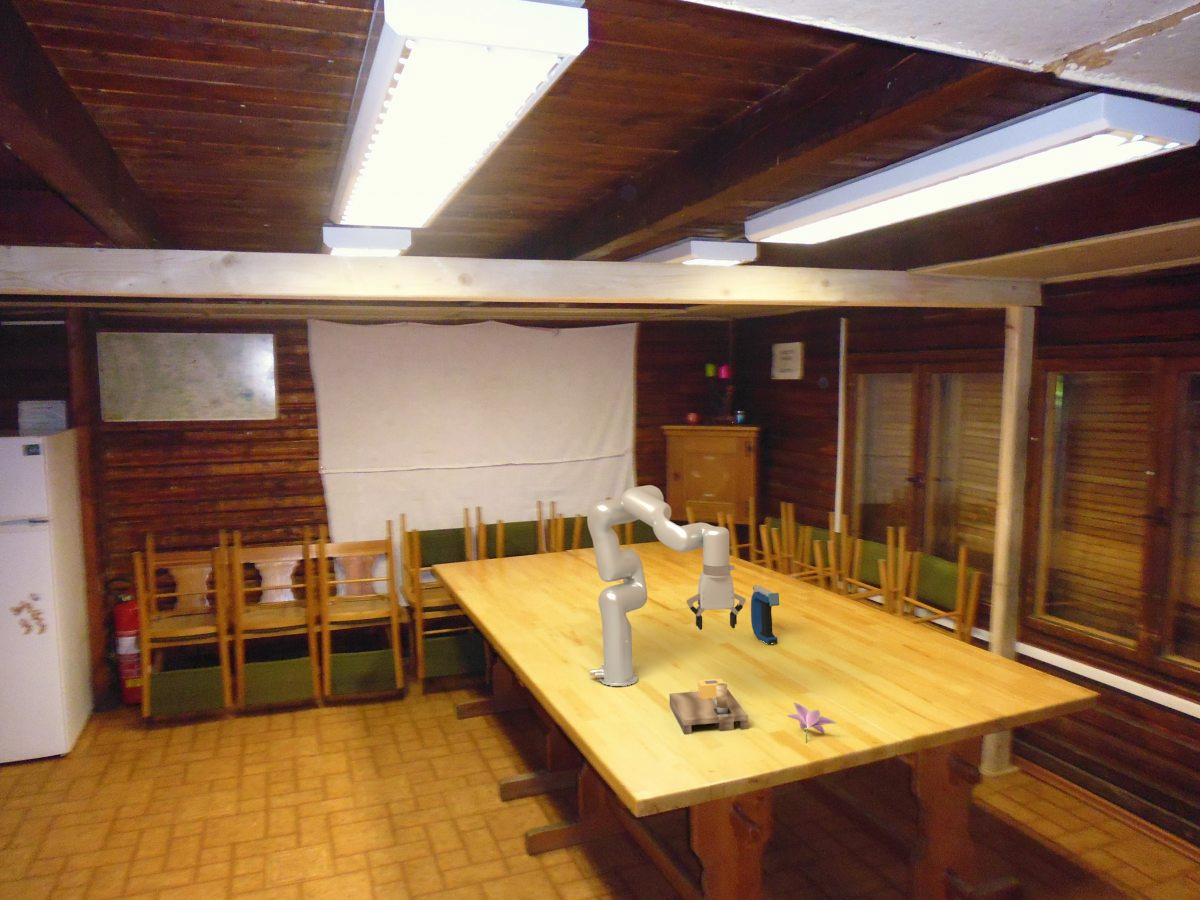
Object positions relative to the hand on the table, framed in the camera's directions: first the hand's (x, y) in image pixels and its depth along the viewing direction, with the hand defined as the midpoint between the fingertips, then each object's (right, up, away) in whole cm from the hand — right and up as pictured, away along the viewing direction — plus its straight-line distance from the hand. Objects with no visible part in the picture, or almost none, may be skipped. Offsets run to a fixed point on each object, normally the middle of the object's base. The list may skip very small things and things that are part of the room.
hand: (716, 627), depth 236 cm
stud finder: (-1, -21, +5) cm, 22 cm away
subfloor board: (-3, -26, -1) cm, 26 cm away
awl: (+1, -24, -6) cm, 25 cm away
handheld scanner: (+28, -20, +68) cm, 77 cm away
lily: (+23, -26, -16) cm, 39 cm away
